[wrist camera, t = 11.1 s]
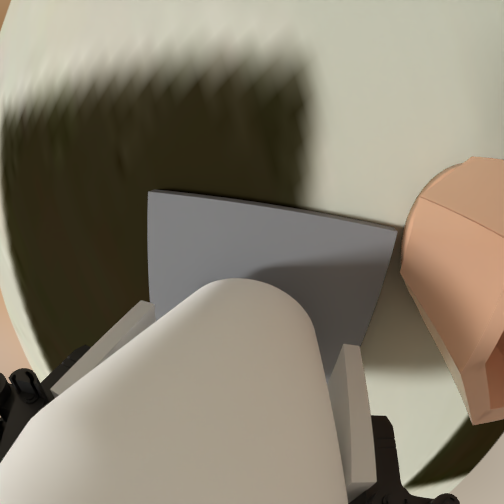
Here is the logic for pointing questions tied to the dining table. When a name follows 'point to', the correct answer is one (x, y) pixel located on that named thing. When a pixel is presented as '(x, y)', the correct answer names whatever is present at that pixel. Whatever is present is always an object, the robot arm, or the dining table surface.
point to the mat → (270, 259)
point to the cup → (192, 414)
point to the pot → (462, 277)
